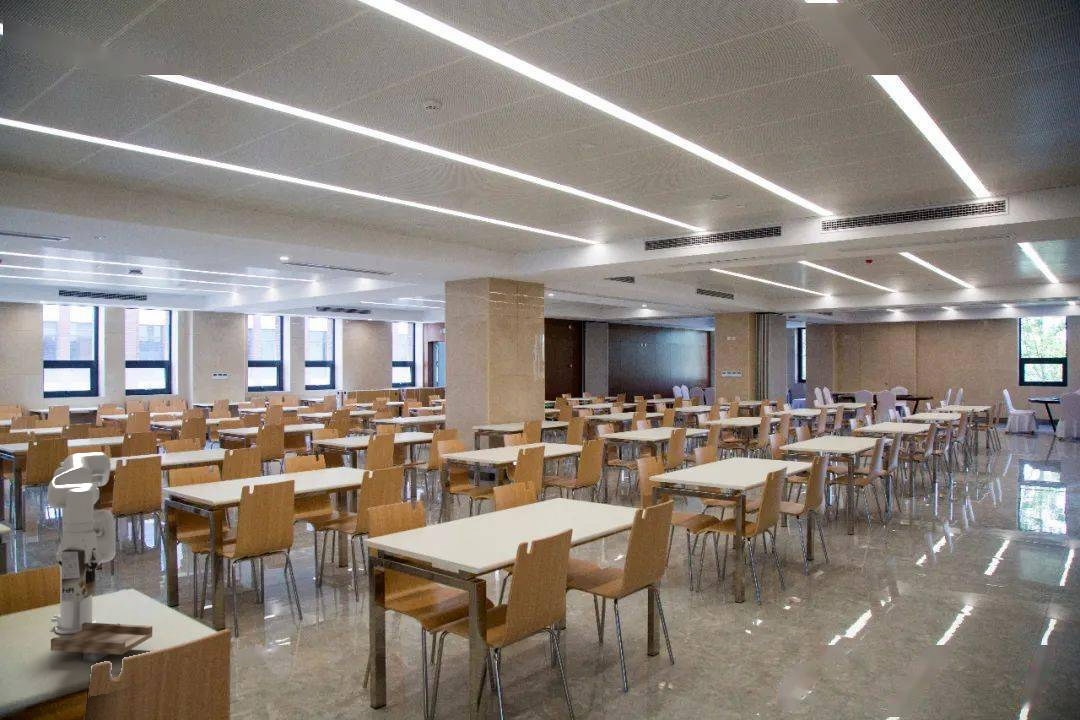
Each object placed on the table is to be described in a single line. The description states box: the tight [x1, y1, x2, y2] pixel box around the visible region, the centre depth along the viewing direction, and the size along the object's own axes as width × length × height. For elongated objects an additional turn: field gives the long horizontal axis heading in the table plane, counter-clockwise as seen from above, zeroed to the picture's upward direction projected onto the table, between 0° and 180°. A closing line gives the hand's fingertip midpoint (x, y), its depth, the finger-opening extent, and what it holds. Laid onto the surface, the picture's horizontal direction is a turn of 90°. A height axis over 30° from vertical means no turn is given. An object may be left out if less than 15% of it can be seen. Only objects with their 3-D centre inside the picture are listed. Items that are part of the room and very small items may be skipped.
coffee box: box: [61, 550, 97, 601], centre depth 240 cm, size 9×6×16 cm
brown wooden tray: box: [50, 622, 153, 663], centre depth 240 cm, size 24×15×7 cm, turn 84°
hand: (79, 581), depth 241 cm, fingers closed on coffee box, 7 cm apart
